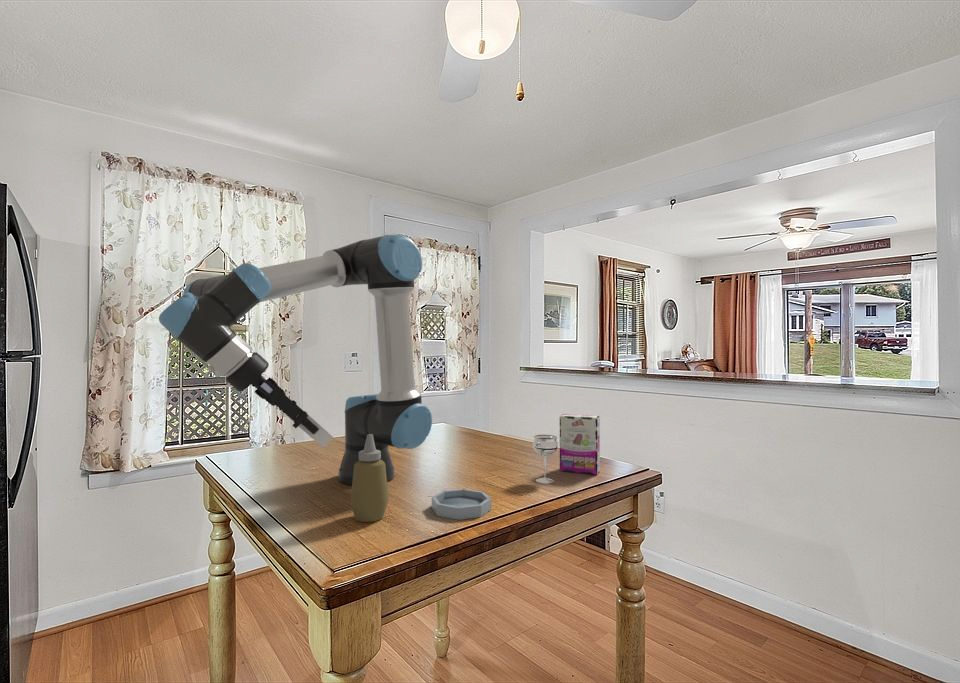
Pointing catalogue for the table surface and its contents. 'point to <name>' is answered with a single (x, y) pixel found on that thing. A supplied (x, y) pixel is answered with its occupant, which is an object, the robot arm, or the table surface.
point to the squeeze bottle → (369, 484)
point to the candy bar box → (580, 443)
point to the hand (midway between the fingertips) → (320, 436)
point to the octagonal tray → (461, 504)
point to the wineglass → (545, 451)
